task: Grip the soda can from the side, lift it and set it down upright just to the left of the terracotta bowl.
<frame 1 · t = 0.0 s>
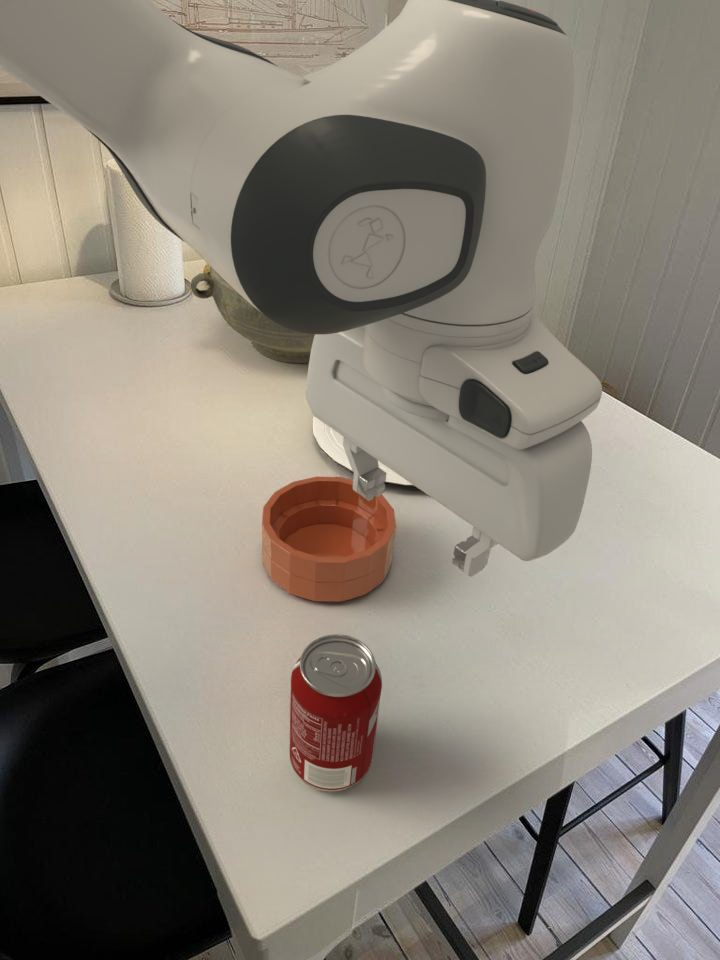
hand: (415, 528, 50), 23 cm above the table, tool pointing down, fingers open, 8 cm apart
clay bowl: (326, 559, 81), on the table
soda can: (330, 759, 62), on the table
plate: (405, 439, 101), on the table
bowl: (296, 343, 121), on the table
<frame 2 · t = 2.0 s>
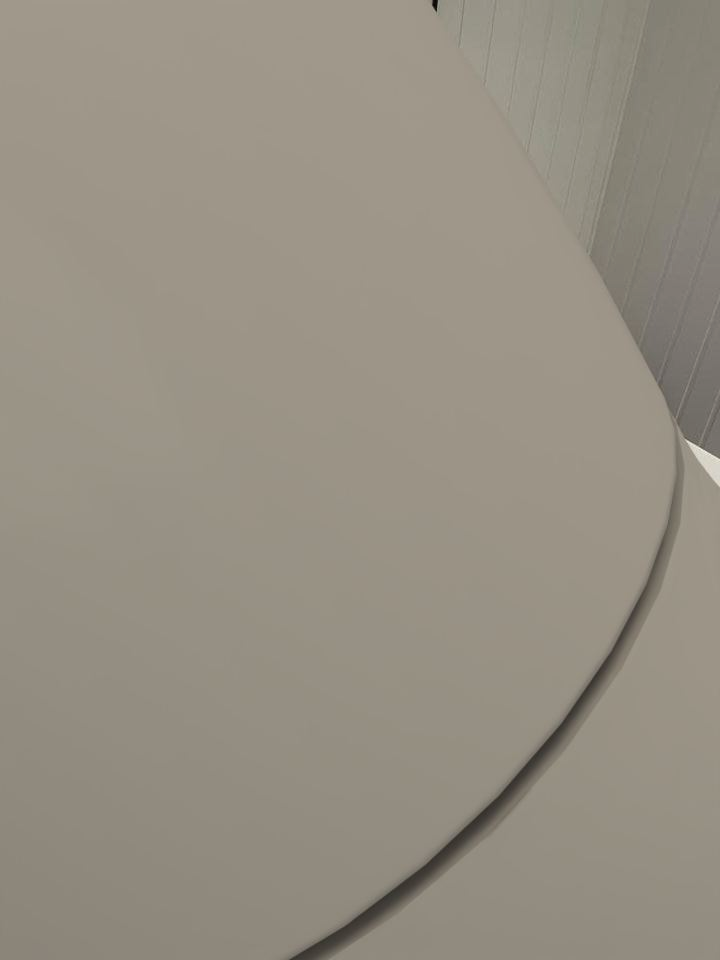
hand: (451, 726, 42), 20 cm above the table, tool horizontal, fingers open, 8 cm apart
nothing on the table moved.
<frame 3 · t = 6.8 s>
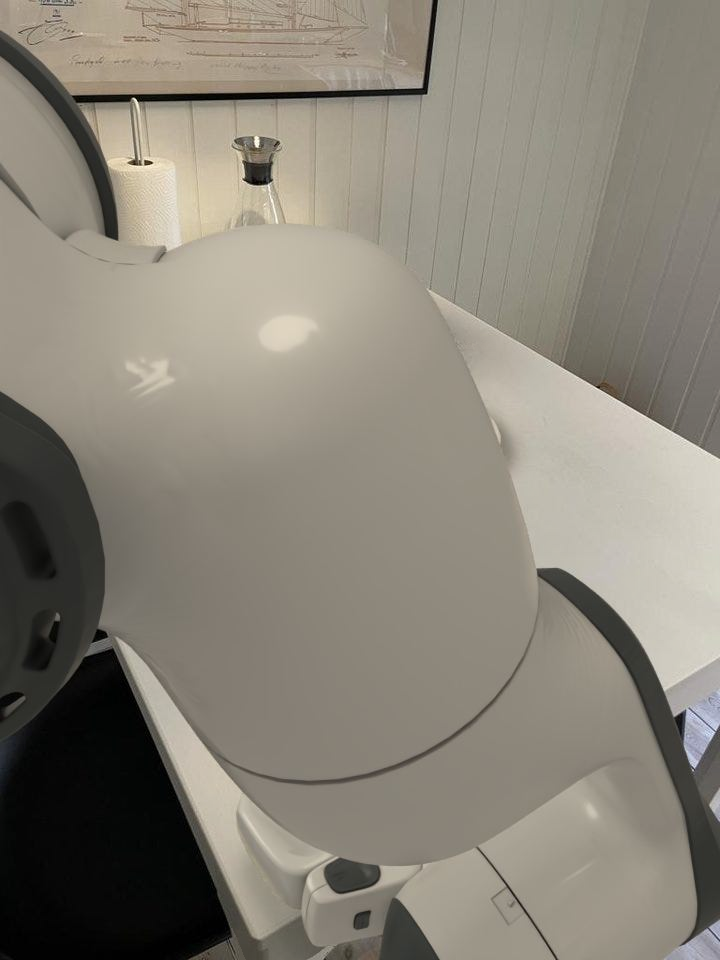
hand: (328, 701, 58), 6 cm above the table, tool horizontal, fingers closed on soda can, 6 cm apart
soda can: (330, 759, 62), on the table, touching gripper
everything else where it was.
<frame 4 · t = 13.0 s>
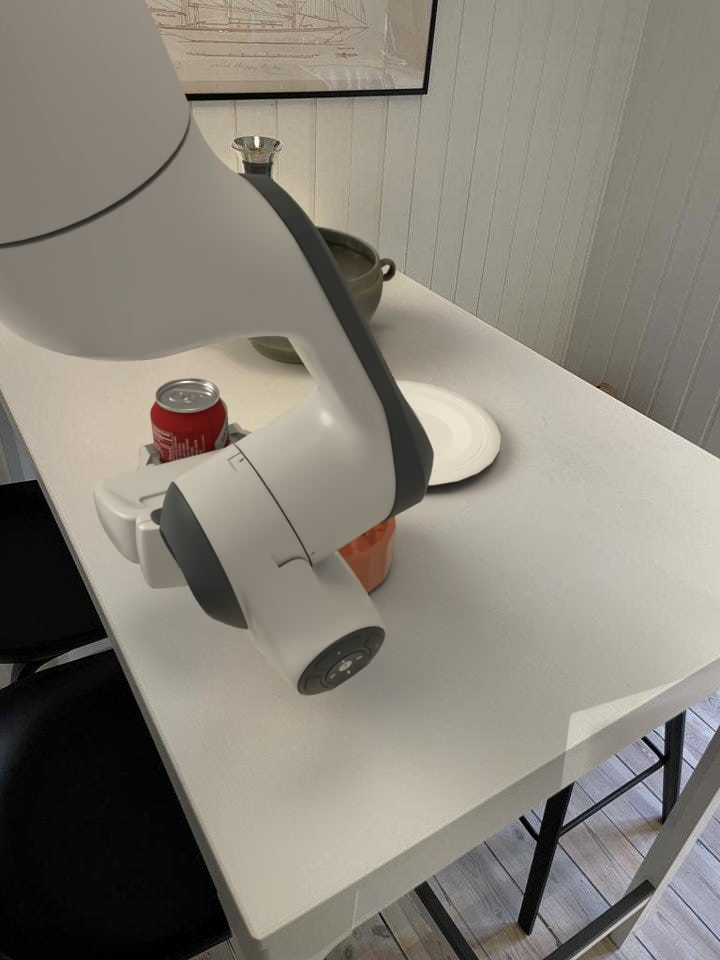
hand: (188, 440, 70), 15 cm above the table, tool horizontal, fingers closed on soda can, 6 cm apart
soda can: (197, 501, 73), point 9 cm above the table, touching gripper
everything else where it was.
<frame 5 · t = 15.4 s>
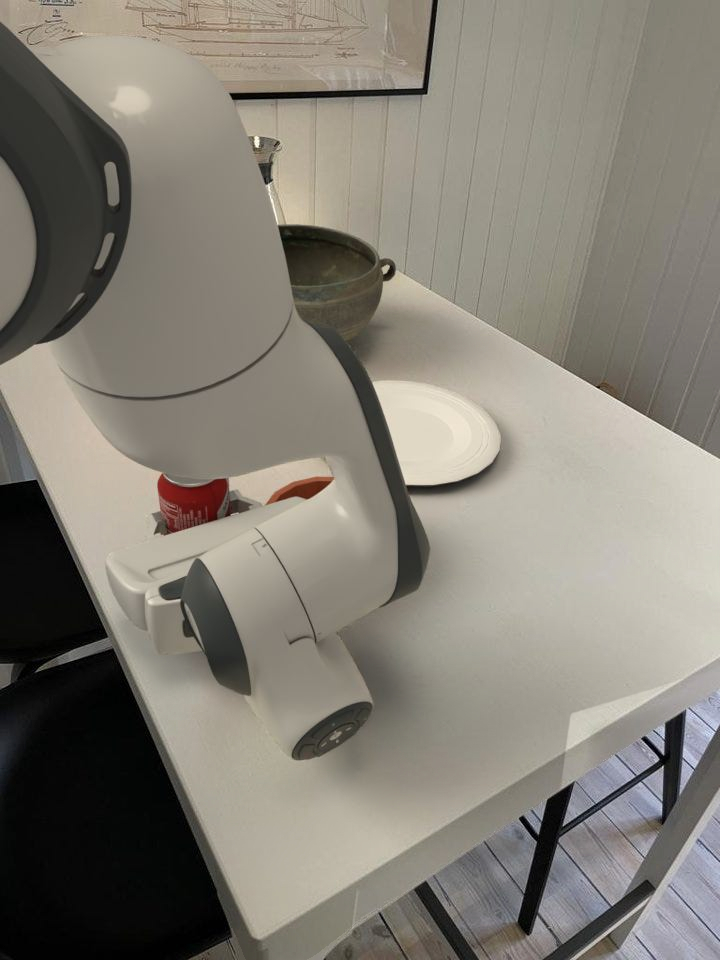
hand: (192, 506, 75), 7 cm above the table, tool horizontal, fingers closed on soda can, 6 cm apart
soda can: (200, 560, 79), on the table, touching gripper
everything else where it was.
when the fingers open (7 cm above the table, at t = 19.6 s): soda can stays where it is, on the table.
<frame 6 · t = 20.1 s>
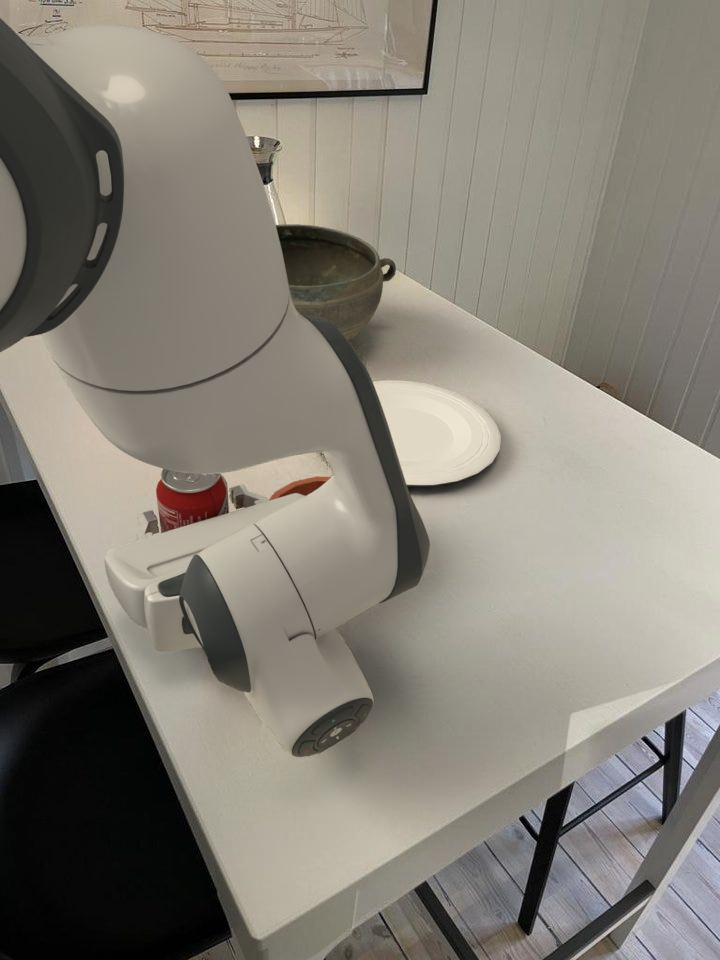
hand: (191, 503, 75), 7 cm above the table, tool horizontal, fingers open, 8 cm apart
soda can: (198, 565, 79), on the table
everything else where it was.
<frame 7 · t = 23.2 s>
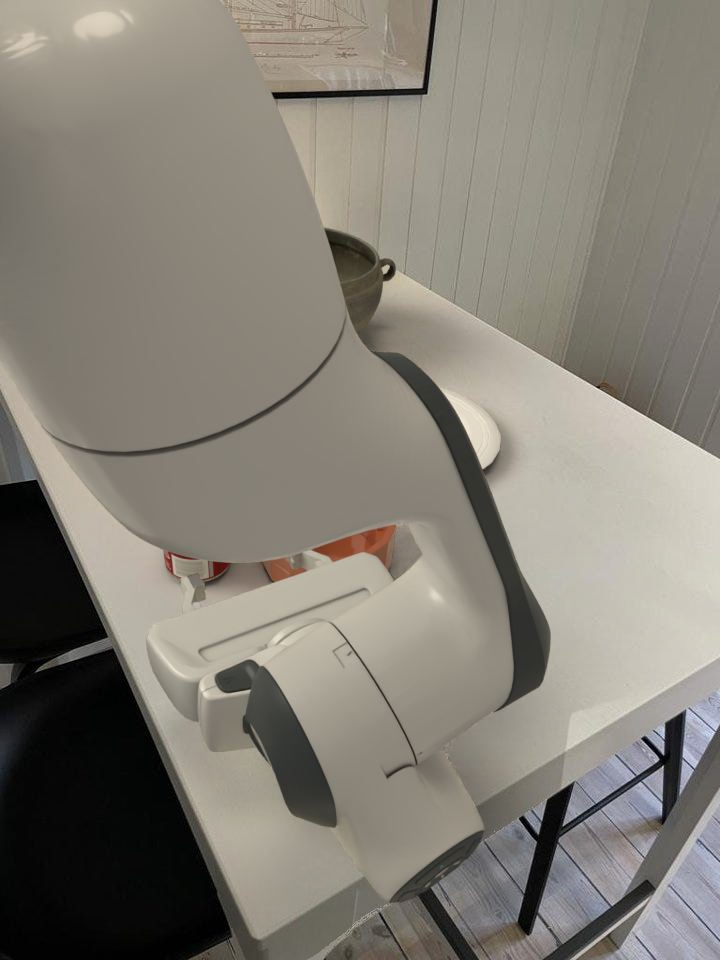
hand: (241, 563, 65), 10 cm above the table, tool horizontal, fingers open, 8 cm apart
nothing on the table moved.
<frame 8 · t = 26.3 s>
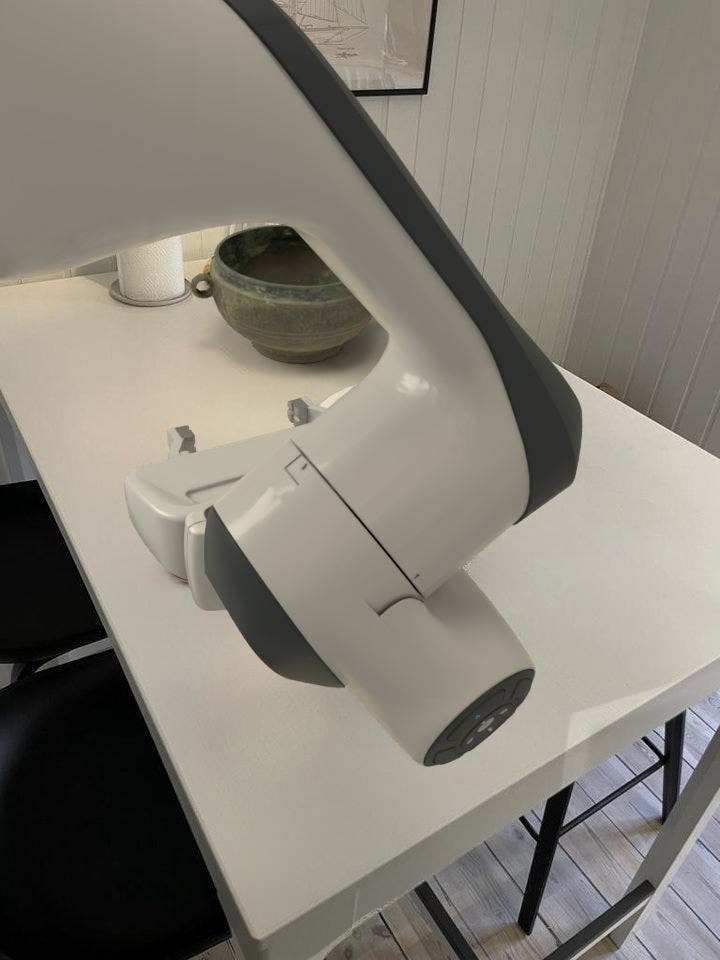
hand: (238, 420, 56), 25 cm above the table, tool horizontal, fingers open, 8 cm apart
nothing on the table moved.
at the end: soda can inside the target area on the table beside the clay bowl (6.3 cm from its centre), on the table; soda can 13.5 cm from the clay bowl (horizontally); soda can tilted 0° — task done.
